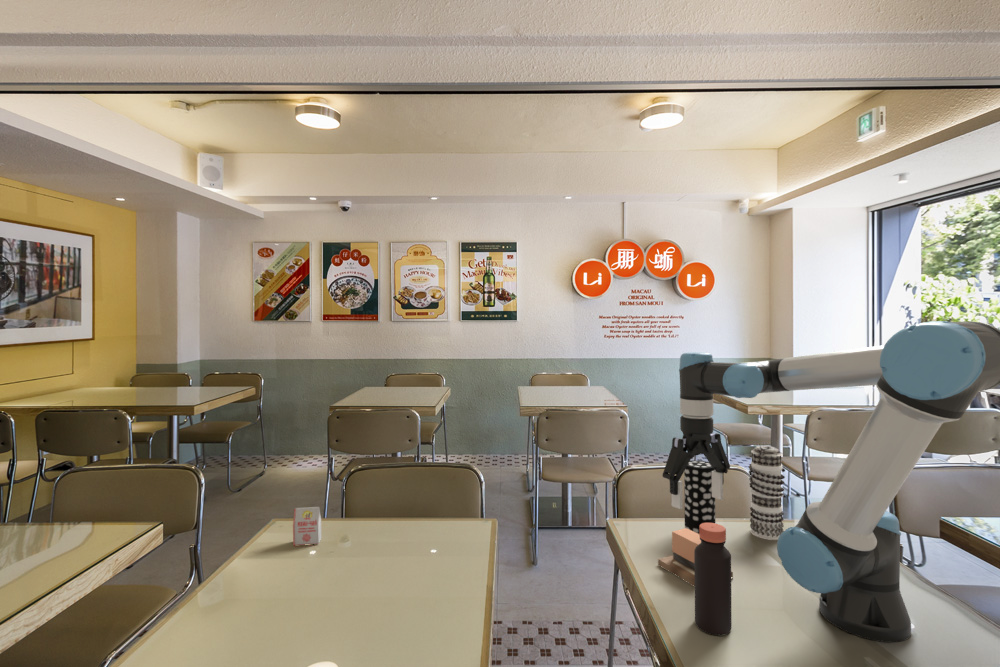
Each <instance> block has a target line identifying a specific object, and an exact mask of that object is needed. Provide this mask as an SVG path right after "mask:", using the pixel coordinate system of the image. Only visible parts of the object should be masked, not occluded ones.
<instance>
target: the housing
mask: <svg viewBox="0 0 1000 667" xmlns="http://www.w3.org/2000/svg"><path fill="white" fill-rule="evenodd" d="M700 543H701V540H700V536H699V534H698V533H696V532H694V531H691V530H689V529H687V528H685V527H684V528H681V529H677V530H673V531H671V548H672V550H671V551H672V553H673V552H674V553H676V554H678V555H680V556H682V557H684V558H685V559H687V560H689V561H691V562H693V563H694V551H695V548H696V546H698V545H699V544H700Z"/></svg>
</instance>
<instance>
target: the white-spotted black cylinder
mask: <svg viewBox="0 0 1000 667" xmlns="http://www.w3.org/2000/svg"><path fill="white" fill-rule="evenodd" d="M711 471H716V470H714V468H713V467H712V466H711V464H710V463H709V461H706V460H705V461H704V460H695V459H694V460H690V461H689V463H688V465H687V467H686V469H685V471H684V472H683V476H684V477H683V478H684V479H683V480H684V481H683V482H684V488H683V489H684V491H683V492H684V494H683V495H684V529H685V528H687V529H689V530H691V531H694V532H696V533H698V534H699V525H700V524H702V523H716V498H714V497H712V472H711Z"/></svg>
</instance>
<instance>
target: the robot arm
mask: <svg viewBox="0 0 1000 667" xmlns="http://www.w3.org/2000/svg"><path fill="white" fill-rule="evenodd" d="M713 359H714V358H713V355H712V353H710V352H684V353H681V354H680V358H679V369H678V372H679V400H680V401H679V402H680V403H679V404H680V407H679V411H680V415H681V416H680V420H679V421H680V423H679V424H680V425H679V428H680V429H679V430H680V431H681V432H682V438H678V437H675V436H674V437H673V438H672V440H671V448H670V452H669V455H668V457H667V460H666V463H665V466H664V469H663V472H662V478H664V479H667V480H669V493H670V494H671V495H670V496H671V497H670V498H671V507H673V508H675V509H678V510H683V508H684V507H683V481H682V480H681V478H682V476H683V475H684V471H685V469H686V467H687V465H688V463H689V461H692V460H691V459H694V457H696V456H700V455H703V456H704V457H705V459H706V460H707V462H709V463H710V464H711V466H712V467H713V468H714V470H715V471H711V472H712V497H714V498H715V500H716V499H717V500H720V501H723V500H724V488H723V486H724V483H725V482H724V481H725V479H724V474H728V472H729V469H731V464H730V462H729V459H728V456H727V454H726V451H725V449H724V446H723V444H722V437H721V434H720V433H718V432H714V418H713V417H712V416H713V415H714V395H719V396H720V395H721V396H728V397H734V398H737V399H741V398H743V399H753V398H756V397H757V396H758V395H759V394H765V393H766V394H767V393H781V392H790V391H803V390H807V391H808V390H822V389H835V388H836V389H838V388H839V389H840V388H852V387H854V388H855V387H866V386H876V388H877V390H878V392H879V394H880V398H879V401H878V403H877V405H876V406H875V408H874V410H873V411H872V413H871V415H870V417H869V418H868V420H867V422H866V424H865V425H864V426H863V429H862V431H861V433H860V434H859V435H858V437H857V439H856V440H855V442H854V445H853V446H852V447H851V450H850V451H849V453H848V455H847V457H846V459H845V460H844V462H843V464H842V465H841V467H840V468H839V471H838V472H837V474H836V476H835V478H834V479H833V480H832V482H831V484H830V486H829V488H828V489H827V492H826V493H825V495H824V496H823V498H822V499H821V501H813V502H811V503H809V504H808V505H807V506H806V508H805V510H804V512H803V513H802V515H801V517H800V519H799V521H798V523H796V525H795V526H789V527H788V528H786V529H785V530H783V531H784V532H782V533H781V535H780V536H779V538H778V540H777V542H776V545H777V546H776V549H777V550H776V551H777V556H778V558H780V561H781V565H782V567H783V568H784V570H785V571H786V573H787V574H788V575H789V577H790V578H791V579H792V580H793V581H794V582H795V583H796V584H797V585H799V586H800V587H802V588H803V589H805V590H807V591H809V592H812V593H816V594H820V596H819V603H818V604H819V607H818V608H819V611H820V614H821V615H822V616H823V618H824V619H826V621H828V622H829V623H831V624H832V625H834V626H835V627H836V628H838V629H841V630H842V631H845V632H847V633H850V634H852V635H853V636H857V637H861V638H864V639H867V640H871V641H872V640H873V641H877V642H886V643H896V642H897V643H898V642H904V641H905V640H908V639H909V638H910V637H911V635H912V622H911V618H910V615H909V613H908V609H907V606H906V604H905V601H904V598H903V596H902V593H901V588H900V587H901V586H900V585H901V584H900V576H901V572H900V571H901V570H900V568H901V565H900V563H901V536H902V532H901V531H900V521H899V519H898V517H897V516H896V515H895V514H893V513H891V512H889V511H887V510H888V508H889V507H890V506H891V504H892V502H893V501H894V500H895V498H896V496H897V494H898V493H899V491H900V490H901V488H902V487H903V486H904V483H905V482H906V480H907V479H908V478H909V476H910V475H911V473H912V471H913V469H914V468H915V467H916V465H917V464H918V462H919V461H920V459H921V457H922V456H923V454H924V453H925V451H926V450H927V448H928V446H929V445H930V443H931V442H932V440H933V438H934V437H935V435H936V434H937V433H938V432H939V429H940V428H941V427H942V425H943V424H944V423H949V422H956V421H959V420H961V418H962V417H963V416H964V414H965V412H966V411H967V409H968V408H969V407H970V405H971V404H972V403H973V401H974V400H975V398H976V397H977V395H978V393H980V392H982V391H983V392H984V391H987V390H992V389H993V388H996V387H998V386H1000V329H999V328H997V327H996V326H992V325H990V324H987V323H984V322H980V321H979V322H978V321H965V320H964V321H946V320H936V321H935V320H929V321H924V322H920V323H917V324H912V325H910V326H906V327H904V328H901V330H898V331H897V332H895V333H894V334H893V335H892V336H891V337H890V338H889V339H888V340H887V341H886V343H885V344H883V345H877V346H868V347H860V348H854V349H853V348H852V349H847V350H838V351H831V352H823V353H815V354H808V355H801V356H800V355H799V356H793V357H785V358H775V359H770V360H767V359H766V360H759V361H741V362H717V361H714V360H713Z"/></svg>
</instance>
